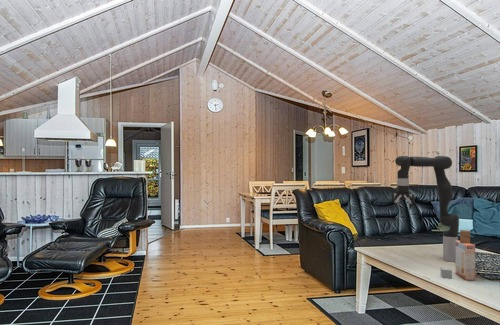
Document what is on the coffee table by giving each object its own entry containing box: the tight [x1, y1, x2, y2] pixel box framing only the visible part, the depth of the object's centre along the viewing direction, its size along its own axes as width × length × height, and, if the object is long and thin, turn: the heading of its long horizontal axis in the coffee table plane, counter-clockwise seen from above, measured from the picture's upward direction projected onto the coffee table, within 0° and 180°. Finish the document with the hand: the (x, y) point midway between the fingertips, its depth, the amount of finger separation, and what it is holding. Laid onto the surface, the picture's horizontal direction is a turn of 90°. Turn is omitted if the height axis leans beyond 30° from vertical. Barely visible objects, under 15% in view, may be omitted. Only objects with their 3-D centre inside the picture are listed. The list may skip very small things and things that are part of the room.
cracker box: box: [455, 239, 476, 281], centre depth 215 cm, size 14×6×21 cm, turn 170°
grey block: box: [440, 267, 453, 280], centre depth 215 cm, size 5×5×5 cm
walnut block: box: [459, 229, 471, 244], centre depth 216 cm, size 5×5×7 cm
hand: (403, 208), depth 244 cm, fingers open, 8 cm apart
